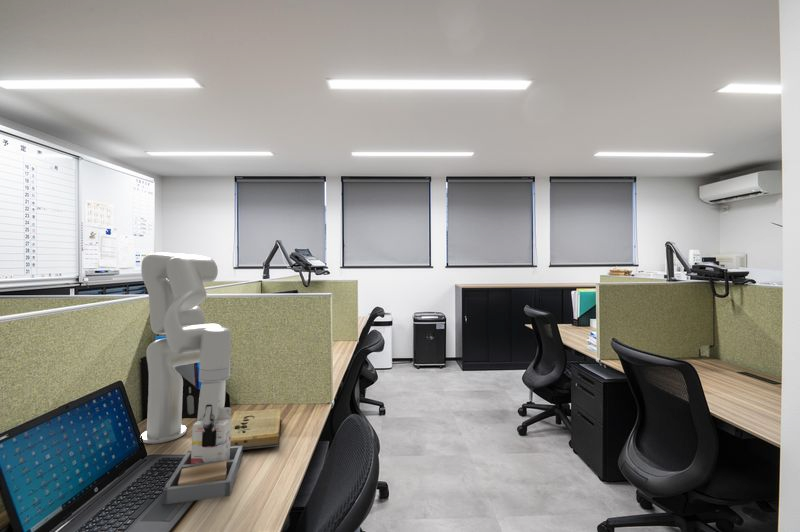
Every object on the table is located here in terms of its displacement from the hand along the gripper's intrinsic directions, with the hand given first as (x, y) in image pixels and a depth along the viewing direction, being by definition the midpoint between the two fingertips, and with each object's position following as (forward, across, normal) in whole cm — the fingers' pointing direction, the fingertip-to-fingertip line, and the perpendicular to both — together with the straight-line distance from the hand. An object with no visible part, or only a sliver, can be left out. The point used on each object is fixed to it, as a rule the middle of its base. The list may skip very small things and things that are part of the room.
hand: (211, 439), depth 97 cm
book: (+9, -18, +9) cm, 22 cm away
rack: (+8, +6, 0) cm, 10 cm away
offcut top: (+5, +10, 0) cm, 11 cm away
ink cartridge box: (+7, 0, 0) cm, 7 cm away
